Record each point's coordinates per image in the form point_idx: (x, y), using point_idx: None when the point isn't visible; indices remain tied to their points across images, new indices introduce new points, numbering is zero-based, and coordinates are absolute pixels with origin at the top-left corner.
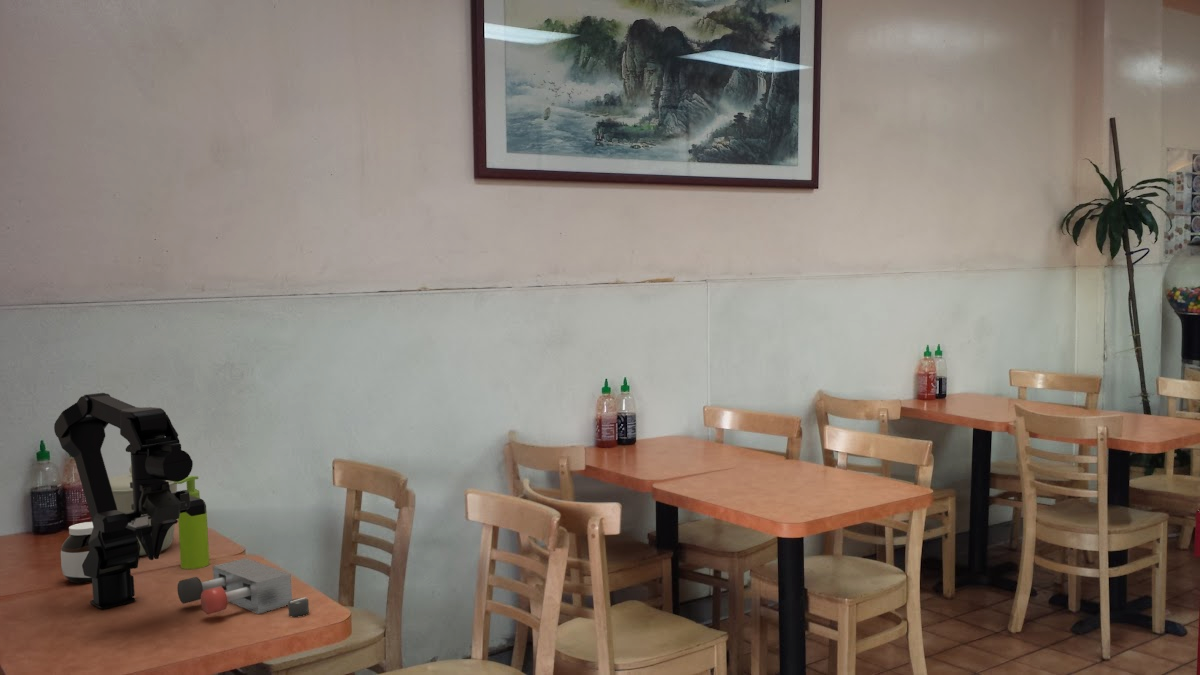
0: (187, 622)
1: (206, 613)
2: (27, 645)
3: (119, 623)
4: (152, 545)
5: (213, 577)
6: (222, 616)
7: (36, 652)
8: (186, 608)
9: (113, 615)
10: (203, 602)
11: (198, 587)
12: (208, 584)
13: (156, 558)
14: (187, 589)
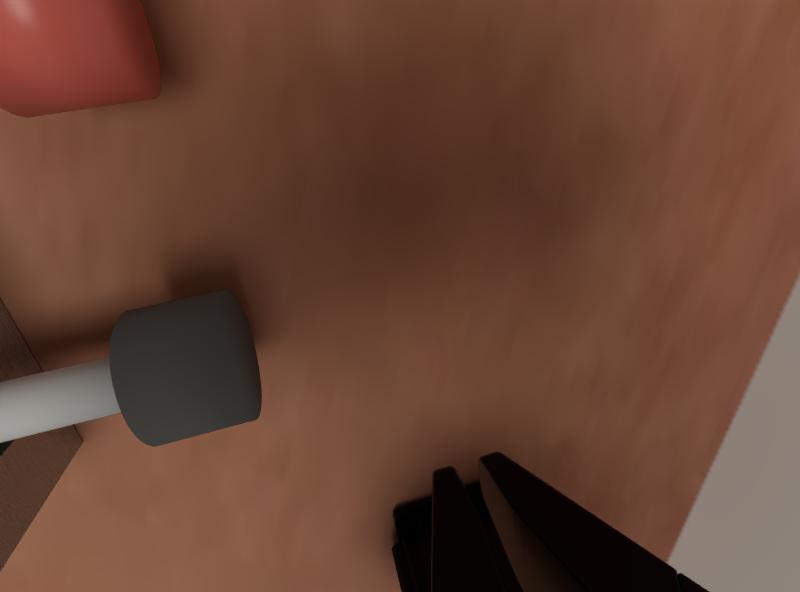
0: (264, 94)
1: (145, 19)
2: (772, 249)
3: (505, 296)
4: (582, 572)
5: (35, 513)
6: None
7: (795, 148)
8: None
9: (491, 402)
10: (139, 51)
11: (140, 325)
12: (70, 377)
13: (452, 466)
14: (215, 311)
